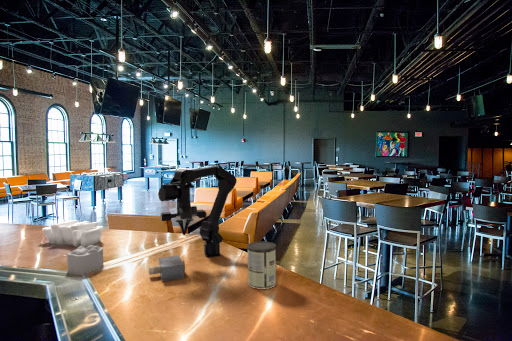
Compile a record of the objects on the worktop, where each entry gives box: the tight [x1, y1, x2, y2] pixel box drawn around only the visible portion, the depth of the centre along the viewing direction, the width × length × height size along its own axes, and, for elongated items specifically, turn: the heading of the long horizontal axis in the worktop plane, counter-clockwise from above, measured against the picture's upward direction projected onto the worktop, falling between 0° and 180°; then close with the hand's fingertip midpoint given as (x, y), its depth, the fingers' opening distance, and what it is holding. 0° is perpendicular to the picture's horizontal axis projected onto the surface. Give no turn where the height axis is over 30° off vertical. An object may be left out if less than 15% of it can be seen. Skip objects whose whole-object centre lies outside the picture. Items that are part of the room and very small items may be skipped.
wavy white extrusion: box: [41, 219, 104, 248], centre depth 169 cm, size 35×16×11 cm, turn 66°
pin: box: [148, 259, 186, 276], centre depth 122 cm, size 13×5×5 cm, turn 112°
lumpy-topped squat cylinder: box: [66, 244, 104, 275], centre depth 130 cm, size 10×13×9 cm
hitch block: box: [158, 255, 185, 282], centre depth 122 cm, size 8×12×5 cm, turn 22°
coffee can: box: [246, 240, 277, 290], centre depth 113 cm, size 10×10×14 cm
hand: (183, 235), depth 136 cm, fingers closed
